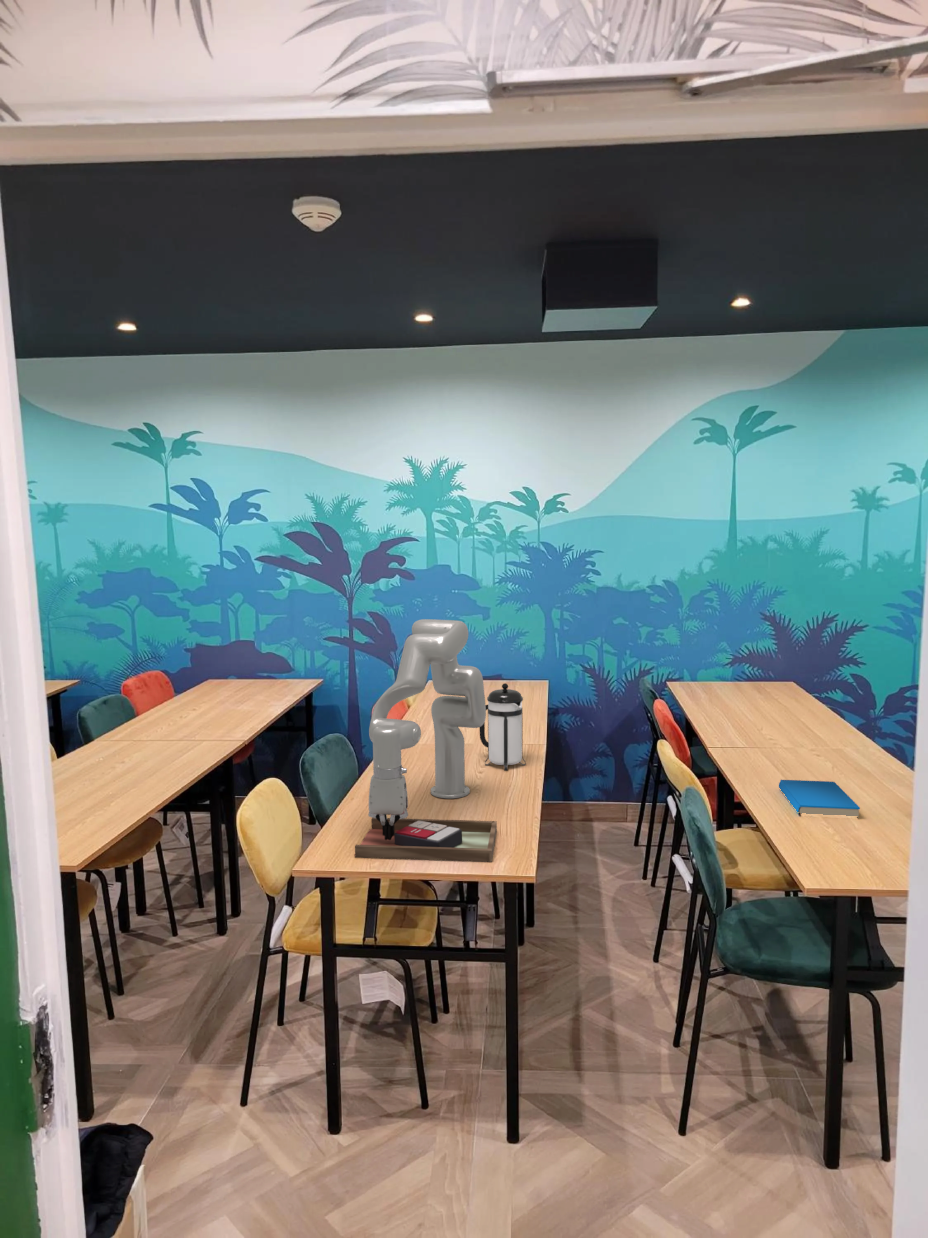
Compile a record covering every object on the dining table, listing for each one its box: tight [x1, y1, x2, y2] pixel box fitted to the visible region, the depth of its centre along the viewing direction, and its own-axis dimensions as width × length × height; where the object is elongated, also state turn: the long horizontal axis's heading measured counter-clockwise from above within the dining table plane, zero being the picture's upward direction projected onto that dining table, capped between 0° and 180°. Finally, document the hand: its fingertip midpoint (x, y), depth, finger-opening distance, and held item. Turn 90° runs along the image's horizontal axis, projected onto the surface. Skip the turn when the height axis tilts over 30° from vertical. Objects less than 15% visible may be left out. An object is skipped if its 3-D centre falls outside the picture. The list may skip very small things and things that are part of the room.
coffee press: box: [479, 683, 527, 772], centre depth 285 cm, size 17×16×30 cm
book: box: [778, 779, 861, 817], centre depth 242 cm, size 17×4×25 cm
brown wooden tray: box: [353, 817, 498, 863], centre depth 213 cm, size 21×36×3 cm, turn 84°
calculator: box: [394, 821, 462, 848], centre depth 213 cm, size 11×4×15 cm
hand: (388, 838), depth 214 cm, fingers closed
